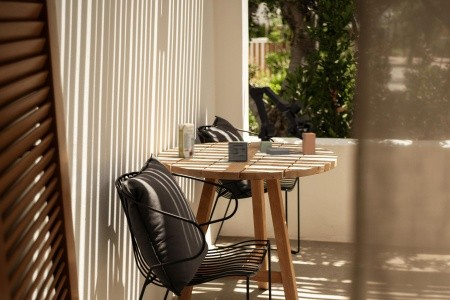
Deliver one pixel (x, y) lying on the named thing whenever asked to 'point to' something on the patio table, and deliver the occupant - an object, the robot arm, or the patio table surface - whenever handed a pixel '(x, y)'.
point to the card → (297, 150)
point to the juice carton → (186, 140)
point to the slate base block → (278, 151)
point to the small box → (237, 151)
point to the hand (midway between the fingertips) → (307, 139)
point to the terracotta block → (308, 143)
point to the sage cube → (264, 146)
